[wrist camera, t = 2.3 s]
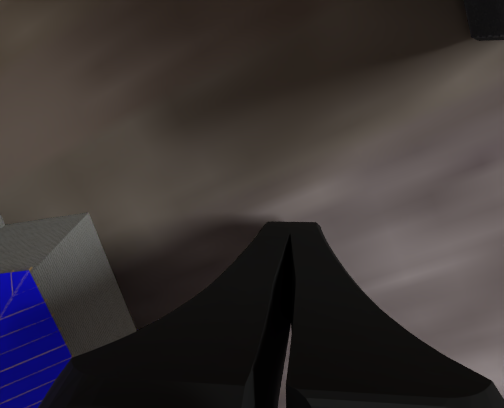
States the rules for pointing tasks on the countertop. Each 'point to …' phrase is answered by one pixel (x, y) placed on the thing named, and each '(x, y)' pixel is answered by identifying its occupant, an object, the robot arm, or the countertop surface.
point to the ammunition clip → (485, 19)
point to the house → (53, 303)
